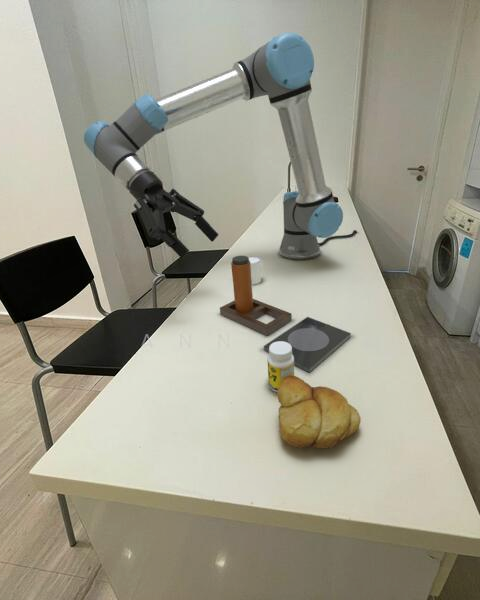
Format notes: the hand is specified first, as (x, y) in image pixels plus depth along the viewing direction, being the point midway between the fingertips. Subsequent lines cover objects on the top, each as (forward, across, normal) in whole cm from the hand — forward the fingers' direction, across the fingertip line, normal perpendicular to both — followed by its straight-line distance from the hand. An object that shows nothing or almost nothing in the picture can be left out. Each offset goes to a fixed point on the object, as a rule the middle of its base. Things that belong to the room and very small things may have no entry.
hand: (201, 246), depth 82 cm
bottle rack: (+22, +1, -2) cm, 22 cm away
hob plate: (+33, +8, +9) cm, 35 cm away
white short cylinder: (+15, -20, -10) cm, 26 cm away
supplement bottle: (+33, +23, +8) cm, 41 cm away
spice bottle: (+20, 0, -5) cm, 20 cm away
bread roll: (+39, +31, +14) cm, 52 cm away
